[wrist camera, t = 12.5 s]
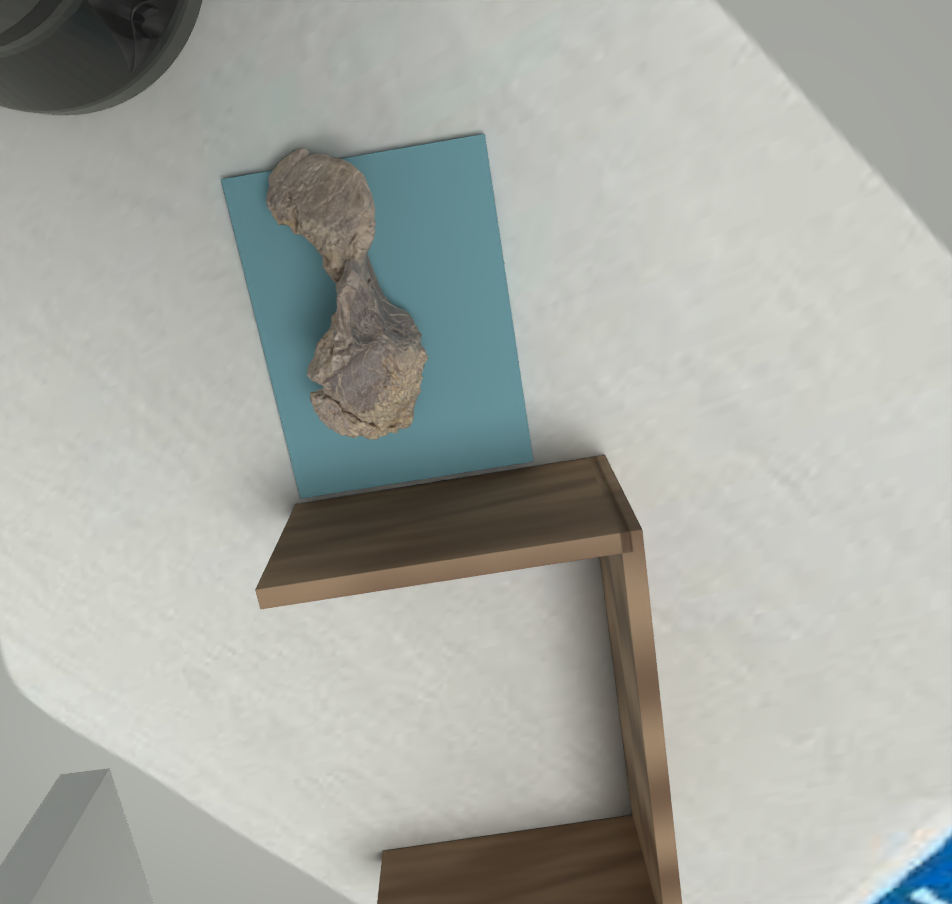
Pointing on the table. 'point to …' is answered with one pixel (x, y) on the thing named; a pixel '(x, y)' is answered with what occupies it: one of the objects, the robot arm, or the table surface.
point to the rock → (350, 300)
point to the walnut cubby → (491, 551)
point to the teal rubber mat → (407, 287)
